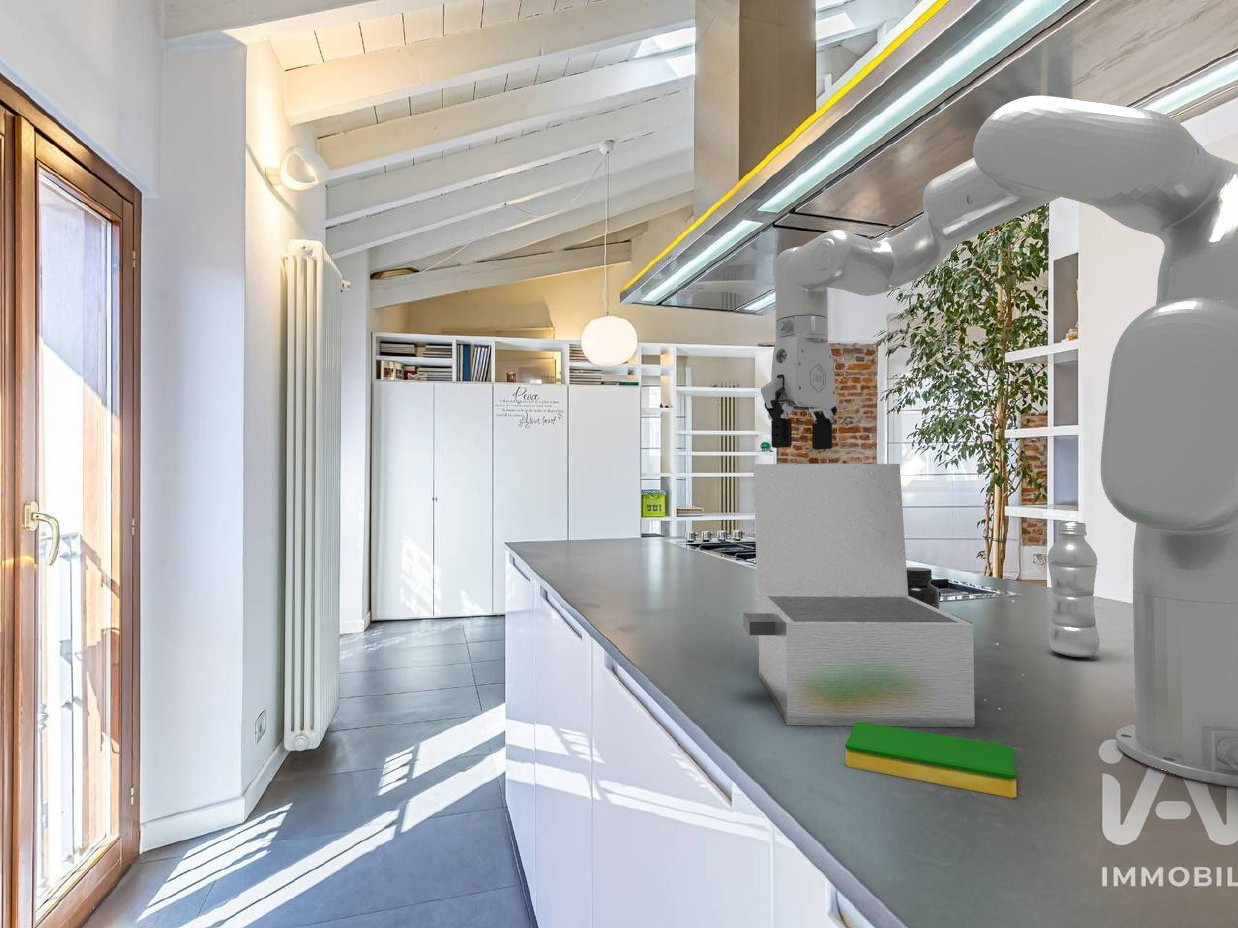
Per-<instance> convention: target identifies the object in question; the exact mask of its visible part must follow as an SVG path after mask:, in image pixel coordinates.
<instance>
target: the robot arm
mask: <svg viewBox="0 0 1238 928" xmlns="http://www.w3.org/2000/svg"><path fill="white" fill-rule="evenodd" d="M972 147H973V148H972V155H973V157H971V159H968V160H966V161H965V162H963V163H961V164H958V165H957V166H955V167H953V168H952V169H950V170H949V171H948V170H947V172H945V173H942V174H940V175H938V176H936V177H934V178H933V179H932V180H930V181H929V182H928V183H927V185H926V186H925V188H924V191H923V195H922V207H923V208H922V209H923V215H922V216H921V217H920V219H918V220H917V221H916V222H915V223H913V224H912V225H911V226H909V227H908V228H906V229H905V230H903V231H901V232H899V233H897V234H895V235H892V236H891V237H889V238H887V239H885V240H882V241H880V242H878V241H874V240H872V239H870V238H867V237H865V236H862V235H858V234H855V233H853V232H851V231H847V230H844V229H832V230H828V231H826V232H824V233H822V234H820V235H818V236H817V237H815V238H813V239H812V240H810V241H808V242H806V243H805V244H803V245H802V246H796V247H795V246H794V247H790V248H788V249H786V250H783V251H782V252H781V253H779V254H778V256H776V259H775V265H774V266H775V267H774V269H775V270H774V271H775V273H774V277H775V278H774V280H775V283H774V284H775V290H774V291H775V296H774V297H775V342H774V345H773V354H772V360H771V361H772V362H771V376H770V378H771V379H770V382H768V383H766V384H765V385H763V386H762V387H761V388H760V393H761V395H762V399H763V401H764V404H763V405H764V408H765V410H766V412H767V413H768V415H767V417H768V420H769V421H770V423H771V425H770V427H771V433H770V435H771V439H770V440H771V443H770V444H771V448H773V449H779V448H780V449H782V448H791V447H792V444H793V440H792V439H793V436H792V435H793V433H792V432H793V428H792V427H793V426H792V425H793V424H792V418H789V417H790V415H791V414H792V412H793V411H802V412H803V411H809V413H810V415H811V417H812V418H813V422H814V423H811V425H812V426H811V428H812V429H811V441H812V444H811V445H812V446H811V447H812V450H818V451H819V450H831V449H832V448H833V423H834V422H835V416H836V414H837V412H838V409H837V408H838V405H839V402H840V395H838V393H837V392H836V378H835V376H836V375H835V367H834V358H833V353H832V348H831V344H830V343H829V325H828V324H829V320H828V318H829V316H828V315H829V314H828V310H829V309H828V306H829V305H828V304H829V303H828V300H829V299H828V288H829V289H837V290H842V291H846V292H849V293H852V294H855V295H858V296H864V297H868V296H870V297H871V296H876V295H881V294H883V293H887V292H889V291H892V290H894V289H897V288H899V287H902V286H903V285H906V284H909V283H911V282H913V281H915V280H917V279H920V278H921V277H923V276H925V275H926V274H927V273H929V272H931V271H932V270H933V269H935V268H936V267H937V265H939V264H940V263H941V262H942V261H944V260H945V258H947V257H948V256H949V255H950V254H951V252H953V250H954V249H955V248H956V246H958V245H959V244H961V243H963V242H965V241H968V240H970V239H973V238H975V237H976V236H979V235H981V234H983V233H985V232H987V231H989V230H991V229H994V228H996V227H998V226H1000V225H1002V224H1005V223H1006V222H1009V221H1012V220H1014V219H1016V218H1017V217H1020V216H1022V215H1025V214H1027V213H1029V212H1031V211H1033V210H1035V209H1038V208H1040V207H1043V206H1045V205H1047V204H1049V203H1051V202H1053V201H1056V200H1058V199H1059V198H1064V199H1069V200H1072V201H1075V202H1079V203H1083V204H1087V205H1089V206H1092V207H1094V208H1095V209H1098V210H1100V211H1101V212H1103V213H1104V214H1105V215H1106V216H1108V217H1110V218H1111V219H1113V220H1114V221H1117V222H1118V223H1119V224H1121V225H1122V226H1125V227H1127V228H1129V229H1131V230H1134V231H1137V232H1141V233H1146V234H1150V235H1153V236H1156V237H1157V238H1159V239H1160V240H1161V241H1162V242H1163V247H1164V251H1163V254H1162V258H1161V261H1160V265H1159V269H1158V274H1157V275H1158V276H1157V285H1156V287H1157V288H1156V301H1155V305H1154V306H1151V307H1150V308H1148V309H1146V310H1145V311H1143V312H1142V313H1141V314H1139V315H1138V316H1137V317H1135V318H1134V319H1133V320H1132V321H1131V322H1130V324H1129V325H1128V326H1127V327H1126V328H1125V329H1124V331H1123V332H1122V333H1121V335H1120V337H1119V340H1118V341H1117V343H1116V345H1115V348H1114V350H1113V354H1112V358H1111V362H1110V368H1109V374H1108V376H1109V377H1108V385H1107V395H1106V406H1105V412H1104V413H1105V414H1104V423H1103V425H1104V426H1103V433H1102V443H1101V444H1102V445H1101V452H1100V481H1101V484H1102V489H1103V491H1104V494H1105V496H1106V498H1107V500H1108V501H1109V503H1110V504H1111V506H1113V508H1114V509H1115V510H1117V512H1118V513H1119V514H1121V515H1122V516H1123V517H1124V518H1126V519H1127V520H1129V521H1131V522H1133V523H1135V531H1134V542H1133V553H1132V556H1133V557H1132V617H1133V618H1132V620H1133V621H1132V622H1133V623H1132V624H1133V626H1132V627H1133V628H1132V629H1133V670H1134V673H1133V675H1134V681H1133V682H1134V720H1135V722H1134V723H1135V724H1130V725H1126V726H1123V727H1121V728H1119V729H1118V730H1116V732H1115V733H1116V734H1115V743H1116V745H1117V747H1118V748H1119V749H1120V750H1121V751H1122V752H1123V753H1124V754H1125V755H1127V756H1128V757H1130V758H1132V759H1134V760H1135V761H1138V762H1140V763H1142V764H1144V765H1146V766H1149V767H1151V768H1153V767H1156V768H1159V769H1163V770H1166V771H1168V772H1171V773H1173V774H1172V775H1175V774H1176V775H1175V776H1178V777H1182V778H1186V779H1190V780H1194V781H1200V782H1203V783H1208V784H1215V785H1220V786H1227V787H1233V786H1235V787H1234V788H1237V787H1236V786H1238V163H1236V162H1234V161H1229V160H1227V159H1225V158H1222V157H1219V156H1216V155H1214V154H1211V153H1210V152H1208V151H1207V149H1205V148H1204V147H1203V146H1202V145H1201V144H1200V143H1199V142H1198V141H1197V140H1196V138H1194V136H1193V135H1192V134H1191V133H1190V132H1189V131H1188V129H1186V127H1185V126H1183V125H1182V124H1181V123H1180V122H1179V121H1177V120H1176V119H1174V118H1171V117H1170V116H1168V115H1166V114H1164V113H1161V112H1157V111H1154V110H1149V109H1145V108H1138V107H1131V106H1125V105H1117V104H1109V103H1103V102H1094V101H1088V100H1087V101H1086V100H1081V99H1074V98H1067V97H1062V96H1061V97H1060V96H1054V95H1053V96H1051V95H1042V94H1041V95H1028V96H1024V97H1020V98H1017V99H1014V100H1012V101H1010V102H1007V103H1006V104H1004V105H1002V106H1001V107H999V108H998V109H996V110H995V111H994V112H993V113H992V114H991V115H989V116H988V117H987V118H986V120H985V121H984V122H983V124H981V126H980V128H979V130H978V131H977V133H976V135H975V138H974V142H973V146H972ZM1156 768H1155V769H1156ZM1159 769H1158V770H1159ZM1168 772H1167V773H1168ZM1171 773H1170V774H1171Z"/></svg>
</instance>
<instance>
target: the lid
mask: <svg viewBox="0 0 1238 928" xmlns="http://www.w3.org/2000/svg"><path fill="white" fill-rule="evenodd" d="M901 479H902V477H901V463H754V464H753V493H754V494H753V495H754V523H755V524H754V525H755V528H754V529H755V531H754V532H755V559H756V561H755V562H756V594H757V596H759V595H878V596H908V585H907V569H906V567H907V557H906V542H905V541H906V540H905V529H904V528H905V525H904V513H903V510H904V509H903V496H902V495H903V493H902V492H903V491H902V480H901Z"/></svg>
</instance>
